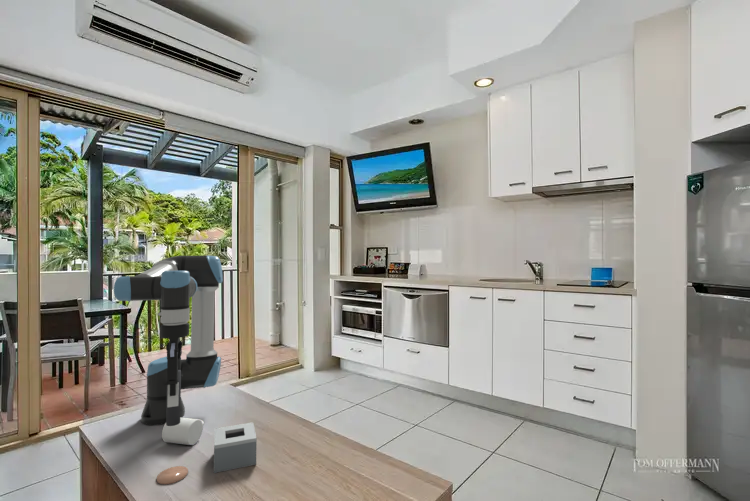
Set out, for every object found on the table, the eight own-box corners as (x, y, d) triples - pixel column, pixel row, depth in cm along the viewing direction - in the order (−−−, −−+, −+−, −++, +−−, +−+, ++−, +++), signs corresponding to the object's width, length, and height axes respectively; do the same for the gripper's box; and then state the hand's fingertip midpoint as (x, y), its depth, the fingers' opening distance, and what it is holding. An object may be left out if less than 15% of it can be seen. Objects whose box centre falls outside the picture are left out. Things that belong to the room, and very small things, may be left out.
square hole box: (214, 453, 120) (214, 428, 120) (252, 446, 125) (253, 422, 125) (213, 473, 109) (214, 445, 109) (256, 464, 114) (256, 438, 114)
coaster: (158, 471, 110) (159, 469, 110) (189, 465, 113) (189, 463, 113) (154, 487, 102) (154, 484, 102) (186, 480, 106) (187, 478, 106)
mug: (187, 449, 123) (187, 425, 123) (161, 446, 125) (161, 422, 125) (210, 433, 134) (210, 410, 135) (186, 430, 136) (186, 408, 137)
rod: (167, 421, 109) (167, 370, 109) (180, 419, 110) (181, 369, 111) (165, 427, 106) (166, 374, 106) (179, 424, 107) (180, 372, 107)
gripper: (164, 319, 115) (162, 395, 114) (155, 328, 100) (154, 416, 99) (191, 318, 118) (190, 392, 117) (187, 326, 103) (185, 412, 102)
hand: (173, 403), depth 108 cm, fingers closed on rod, 3 cm apart
